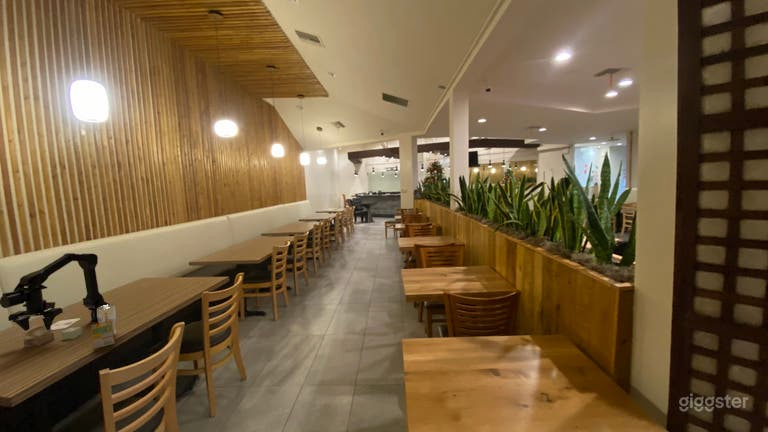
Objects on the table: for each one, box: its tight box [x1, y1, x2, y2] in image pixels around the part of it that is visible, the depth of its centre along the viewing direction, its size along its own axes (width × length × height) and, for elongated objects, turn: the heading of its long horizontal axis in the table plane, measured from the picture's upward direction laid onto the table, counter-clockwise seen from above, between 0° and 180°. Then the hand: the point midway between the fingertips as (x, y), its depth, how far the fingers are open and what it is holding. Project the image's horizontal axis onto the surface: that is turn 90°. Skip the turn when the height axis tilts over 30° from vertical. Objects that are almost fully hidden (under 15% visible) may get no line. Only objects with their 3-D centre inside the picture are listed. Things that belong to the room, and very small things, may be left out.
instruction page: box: [51, 317, 82, 331], centre depth 171 cm, size 10×14×1 cm
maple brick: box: [24, 324, 52, 339], centre depth 150 cm, size 6×6×4 cm
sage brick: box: [61, 326, 83, 341], centre depth 155 cm, size 5×5×4 cm
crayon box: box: [91, 321, 116, 350], centre depth 145 cm, size 7×3×12 cm, turn 129°
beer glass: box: [97, 304, 118, 336], centre depth 156 cm, size 7×7×15 cm
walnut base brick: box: [23, 331, 55, 348], centre depth 150 cm, size 7×7×4 cm
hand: (38, 330), depth 149 cm, fingers open, 8 cm apart
